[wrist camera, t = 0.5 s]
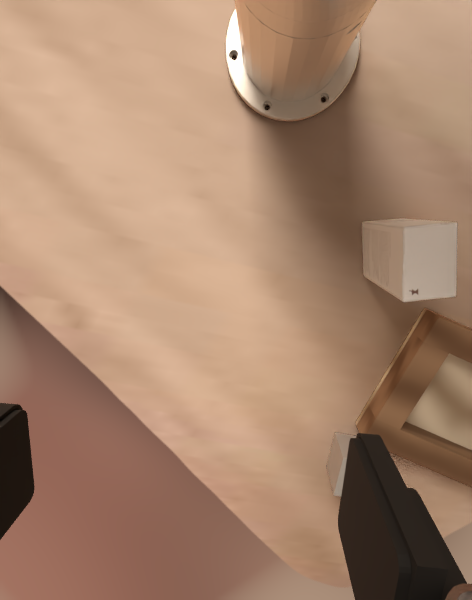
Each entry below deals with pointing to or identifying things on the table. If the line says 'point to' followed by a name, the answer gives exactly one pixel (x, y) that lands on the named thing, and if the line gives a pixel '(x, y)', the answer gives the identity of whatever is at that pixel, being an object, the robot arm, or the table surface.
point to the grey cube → (338, 461)
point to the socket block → (427, 399)
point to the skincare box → (411, 257)
